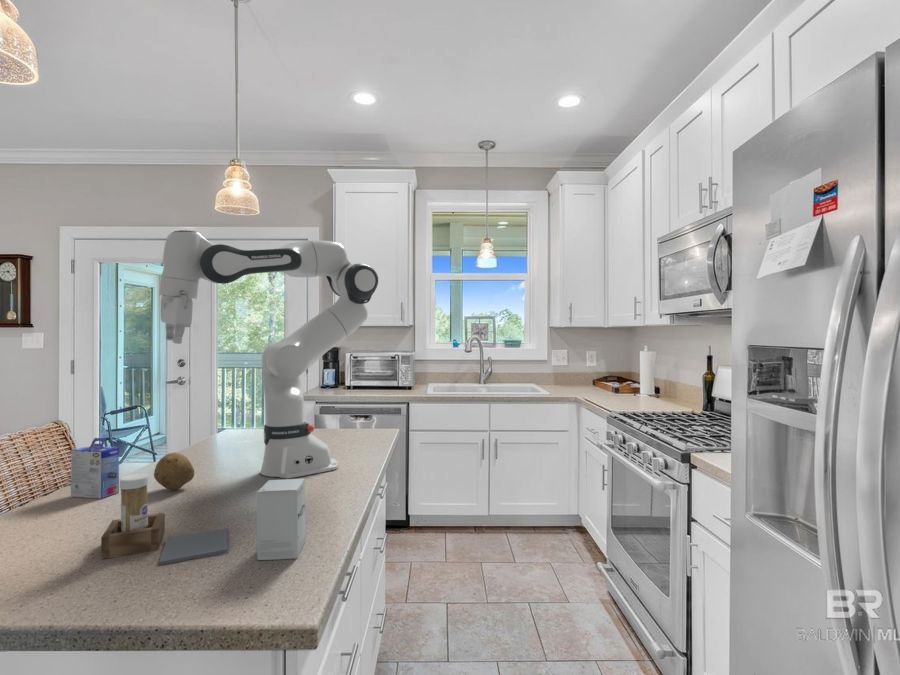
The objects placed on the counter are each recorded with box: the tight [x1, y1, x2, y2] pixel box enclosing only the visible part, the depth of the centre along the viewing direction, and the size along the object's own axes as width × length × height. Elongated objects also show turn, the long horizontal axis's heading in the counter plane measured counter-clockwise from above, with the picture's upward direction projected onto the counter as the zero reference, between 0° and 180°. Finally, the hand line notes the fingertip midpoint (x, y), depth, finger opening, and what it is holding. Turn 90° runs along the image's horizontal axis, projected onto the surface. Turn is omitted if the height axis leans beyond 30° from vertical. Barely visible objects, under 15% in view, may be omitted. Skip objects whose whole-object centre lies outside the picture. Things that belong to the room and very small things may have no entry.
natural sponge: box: [153, 452, 195, 492], centre depth 125 cm, size 9×9×10 cm
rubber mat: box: [158, 527, 229, 566], centre depth 91 cm, size 11×11×1 cm
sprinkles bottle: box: [119, 473, 149, 532], centre depth 92 cm, size 5×5×13 cm
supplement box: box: [256, 478, 307, 561], centre depth 89 cm, size 7×7×13 cm
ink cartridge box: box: [70, 437, 120, 499], centre depth 122 cm, size 10×6×14 cm, turn 78°
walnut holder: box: [100, 512, 166, 560], centre depth 92 cm, size 9×9×4 cm
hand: (173, 341), depth 126 cm, fingers open, 8 cm apart
